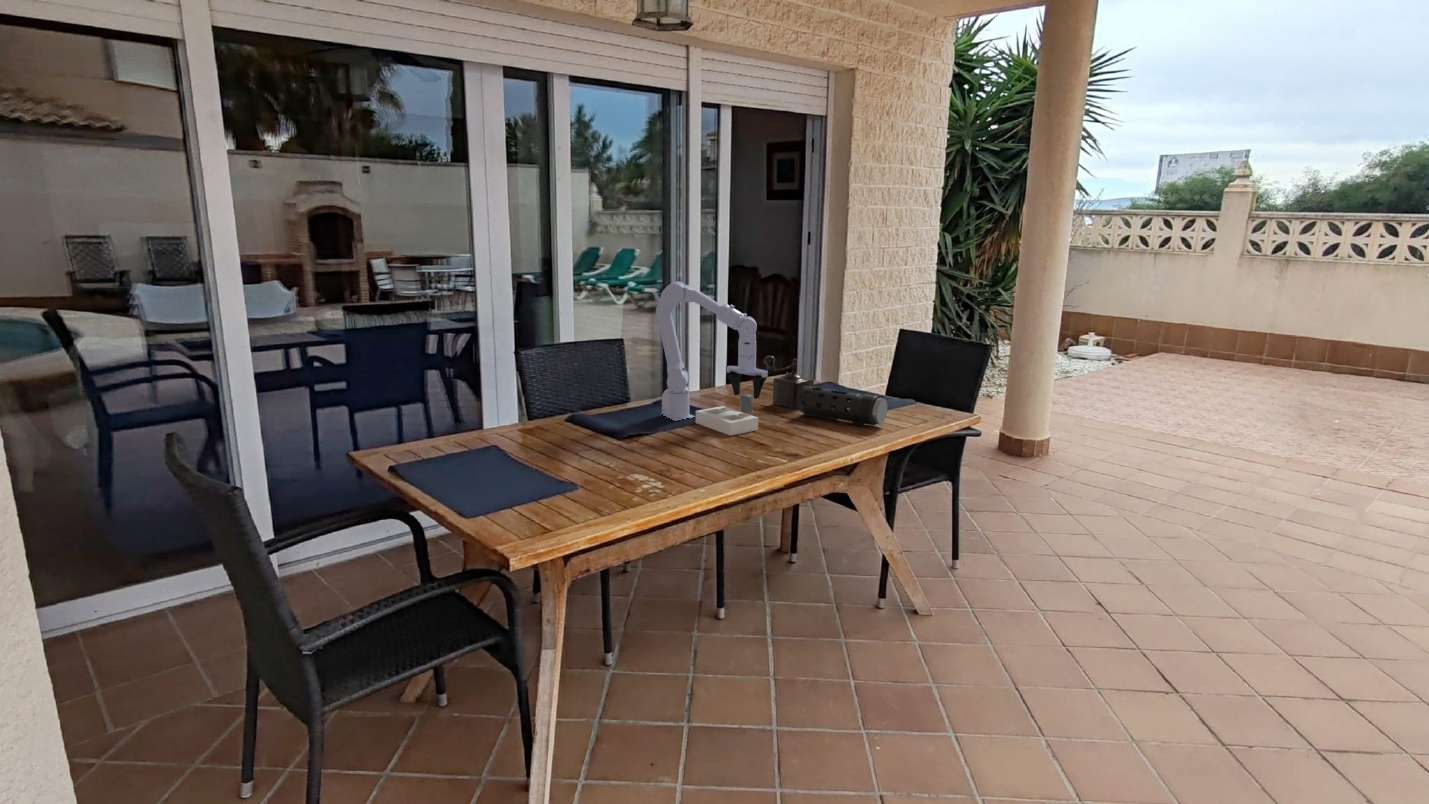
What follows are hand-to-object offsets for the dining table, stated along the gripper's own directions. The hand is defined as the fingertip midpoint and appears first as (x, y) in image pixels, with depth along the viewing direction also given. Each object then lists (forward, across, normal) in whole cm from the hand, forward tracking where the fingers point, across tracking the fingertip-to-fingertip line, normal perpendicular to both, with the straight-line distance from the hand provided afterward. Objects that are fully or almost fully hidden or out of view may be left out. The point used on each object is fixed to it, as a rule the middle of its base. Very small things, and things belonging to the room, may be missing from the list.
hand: (746, 396), depth 248 cm
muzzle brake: (+8, +26, +16) cm, 32 cm away
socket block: (+8, 0, -11) cm, 13 cm away
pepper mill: (+8, +1, +24) cm, 26 cm away
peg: (+8, 0, 0) cm, 8 cm away
